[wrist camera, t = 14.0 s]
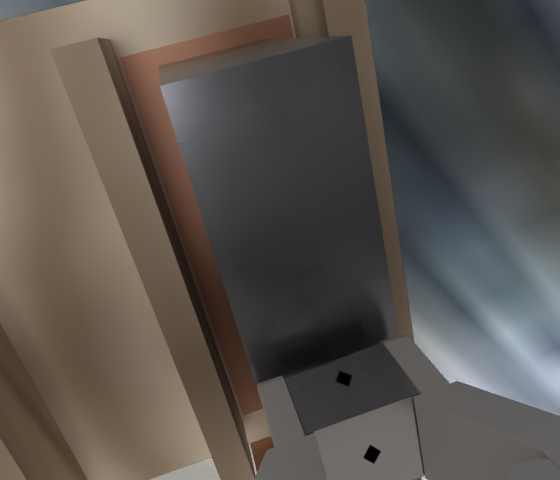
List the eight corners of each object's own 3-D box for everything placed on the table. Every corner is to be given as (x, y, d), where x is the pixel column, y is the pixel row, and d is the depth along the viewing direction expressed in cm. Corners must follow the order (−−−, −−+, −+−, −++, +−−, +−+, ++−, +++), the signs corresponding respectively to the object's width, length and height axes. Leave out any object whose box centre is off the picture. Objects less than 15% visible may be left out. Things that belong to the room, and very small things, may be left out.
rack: (304, -48, 14) (353, -80, 11) (385, 394, 21) (431, 467, 18) (-426, 127, 12) (-675, 163, 8) (-70, 558, 19) (-123, 678, 15)
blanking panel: (263, 39, 14) (351, 35, 8) (338, 370, 19) (430, 537, 12) (159, 66, 14) (160, 85, 7) (263, 396, 18) (319, 581, 12)
